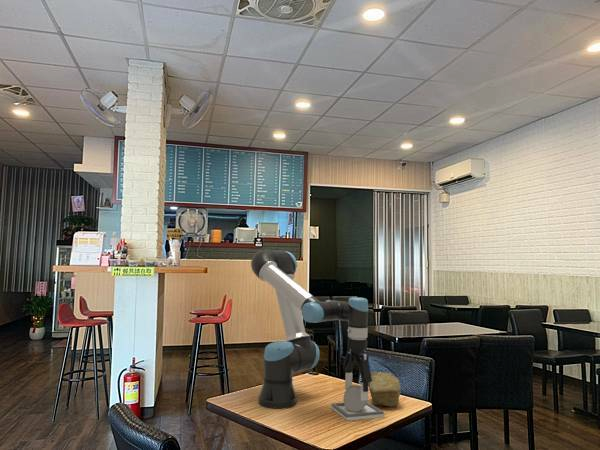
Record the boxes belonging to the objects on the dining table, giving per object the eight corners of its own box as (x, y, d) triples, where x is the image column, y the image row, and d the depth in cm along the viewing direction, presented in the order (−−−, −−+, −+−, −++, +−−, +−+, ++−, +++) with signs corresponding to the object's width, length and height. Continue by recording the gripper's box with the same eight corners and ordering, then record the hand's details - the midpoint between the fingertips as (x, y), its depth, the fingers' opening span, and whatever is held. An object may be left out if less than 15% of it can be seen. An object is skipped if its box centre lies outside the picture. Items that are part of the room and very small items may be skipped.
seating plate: (331, 408, 173) (331, 403, 173) (365, 405, 178) (365, 400, 178) (347, 420, 159) (347, 415, 159) (384, 417, 163) (384, 412, 164)
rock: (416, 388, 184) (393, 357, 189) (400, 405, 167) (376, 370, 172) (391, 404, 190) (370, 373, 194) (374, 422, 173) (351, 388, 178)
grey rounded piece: (338, 394, 164) (344, 377, 173) (343, 416, 167) (348, 399, 176) (363, 395, 161) (368, 378, 170) (368, 418, 164) (372, 400, 173)
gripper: (335, 333, 181) (334, 386, 180) (363, 344, 158) (361, 405, 156) (352, 332, 184) (351, 385, 182) (382, 343, 160) (380, 404, 158)
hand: (356, 394), depth 169 cm, fingers open, 13 cm apart
